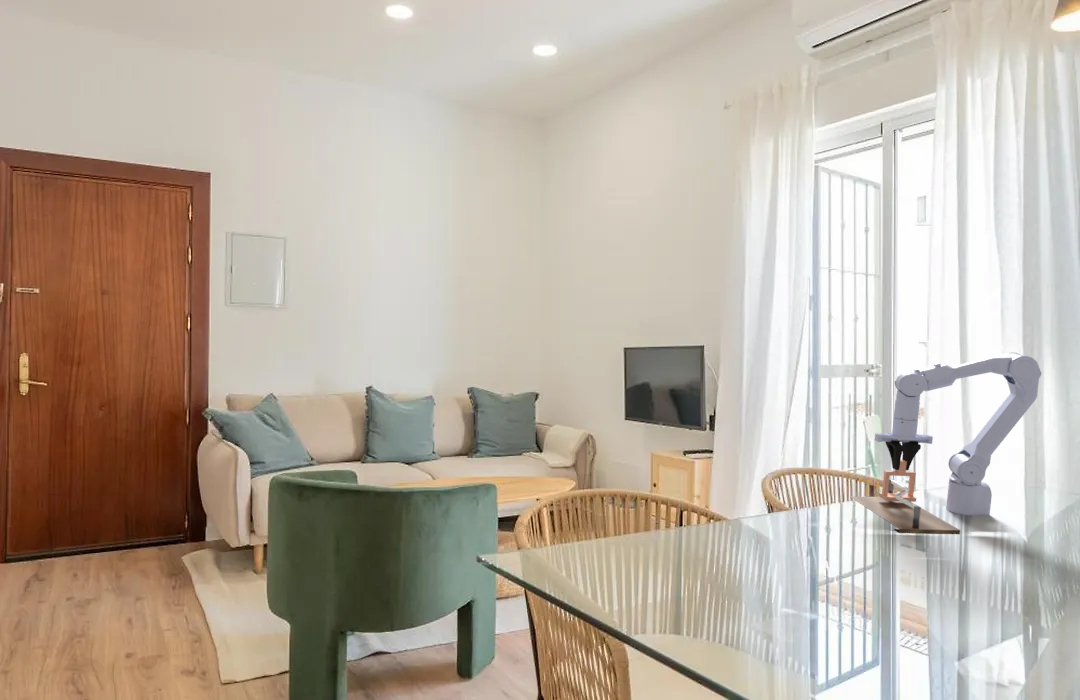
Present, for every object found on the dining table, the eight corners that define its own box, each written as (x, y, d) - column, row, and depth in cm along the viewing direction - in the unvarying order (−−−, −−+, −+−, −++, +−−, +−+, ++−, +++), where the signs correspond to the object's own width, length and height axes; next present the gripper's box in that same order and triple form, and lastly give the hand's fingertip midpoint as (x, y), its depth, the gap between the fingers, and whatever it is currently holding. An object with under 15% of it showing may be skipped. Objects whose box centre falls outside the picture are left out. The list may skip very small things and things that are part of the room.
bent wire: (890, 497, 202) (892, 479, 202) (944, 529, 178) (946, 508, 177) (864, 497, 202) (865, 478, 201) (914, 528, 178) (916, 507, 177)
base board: (903, 501, 203) (903, 497, 203) (959, 534, 178) (960, 530, 178) (849, 500, 202) (850, 496, 202) (898, 533, 177) (899, 529, 177)
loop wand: (907, 497, 200) (911, 459, 198) (915, 501, 196) (920, 463, 194) (878, 496, 199) (882, 458, 198) (886, 500, 195) (890, 462, 194)
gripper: (924, 416, 199) (918, 465, 201) (871, 414, 198) (866, 464, 200) (939, 421, 192) (933, 473, 194) (884, 419, 191) (879, 471, 193)
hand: (900, 469), depth 196 cm, fingers closed on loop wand, 2 cm apart
